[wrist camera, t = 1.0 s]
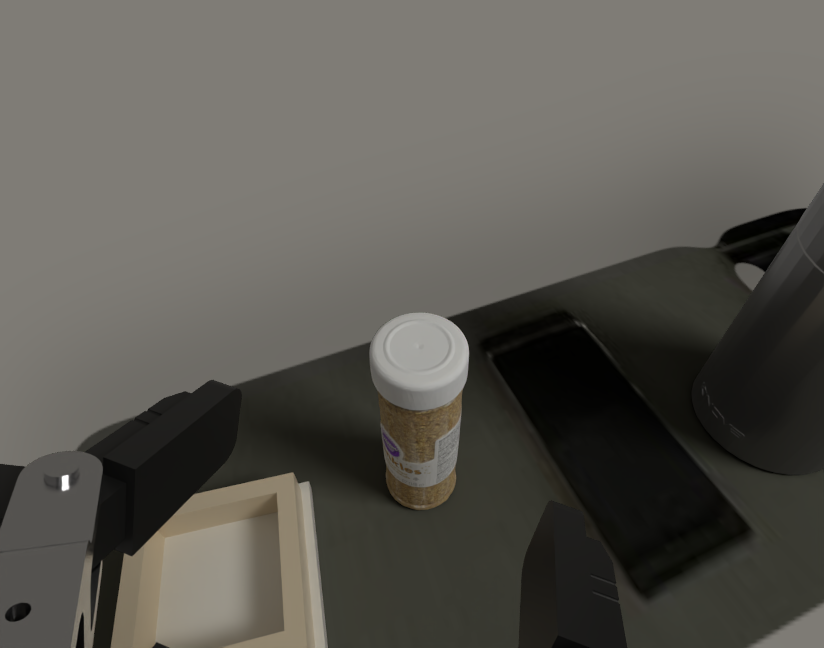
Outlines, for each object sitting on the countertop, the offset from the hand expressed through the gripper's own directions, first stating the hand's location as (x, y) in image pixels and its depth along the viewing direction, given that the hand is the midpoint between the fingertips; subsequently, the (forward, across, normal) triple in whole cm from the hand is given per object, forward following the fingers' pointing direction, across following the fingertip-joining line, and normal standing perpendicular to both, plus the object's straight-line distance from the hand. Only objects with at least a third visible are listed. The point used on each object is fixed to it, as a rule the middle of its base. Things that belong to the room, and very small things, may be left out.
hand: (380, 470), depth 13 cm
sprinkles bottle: (+17, -1, +13) cm, 21 cm away
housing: (+9, +8, +18) cm, 22 cm away
